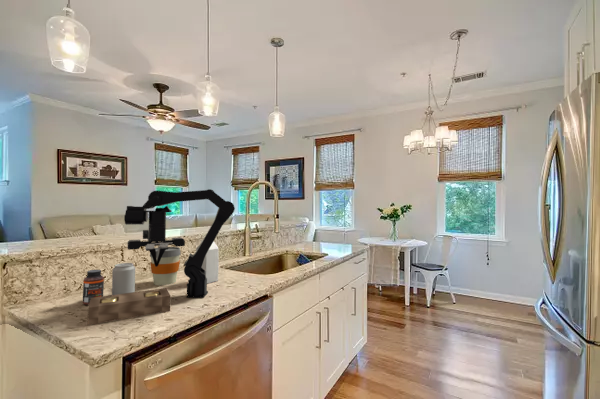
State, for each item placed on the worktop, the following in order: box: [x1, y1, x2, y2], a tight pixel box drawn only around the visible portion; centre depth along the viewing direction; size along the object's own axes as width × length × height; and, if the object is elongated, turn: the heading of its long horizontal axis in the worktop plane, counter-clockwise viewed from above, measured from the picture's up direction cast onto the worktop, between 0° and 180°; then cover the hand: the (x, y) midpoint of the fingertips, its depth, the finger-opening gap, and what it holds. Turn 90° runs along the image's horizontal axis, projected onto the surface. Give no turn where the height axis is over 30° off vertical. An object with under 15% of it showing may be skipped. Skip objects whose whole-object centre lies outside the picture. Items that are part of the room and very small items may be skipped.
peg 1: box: [102, 297, 117, 303], centre depth 90 cm, size 4×4×5 cm
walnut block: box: [87, 287, 171, 326], centre depth 93 cm, size 22×10×5 cm, turn 122°
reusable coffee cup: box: [149, 246, 182, 286], centre depth 128 cm, size 13×13×15 cm
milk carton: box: [195, 239, 220, 285], centre depth 130 cm, size 7×7×19 cm
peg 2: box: [145, 292, 159, 297], centre depth 96 cm, size 4×4×5 cm
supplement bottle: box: [82, 269, 105, 306], centre depth 101 cm, size 6×6×11 cm
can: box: [111, 262, 136, 295], centre depth 109 cm, size 8×8×12 cm
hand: (156, 266), depth 106 cm, fingers closed
